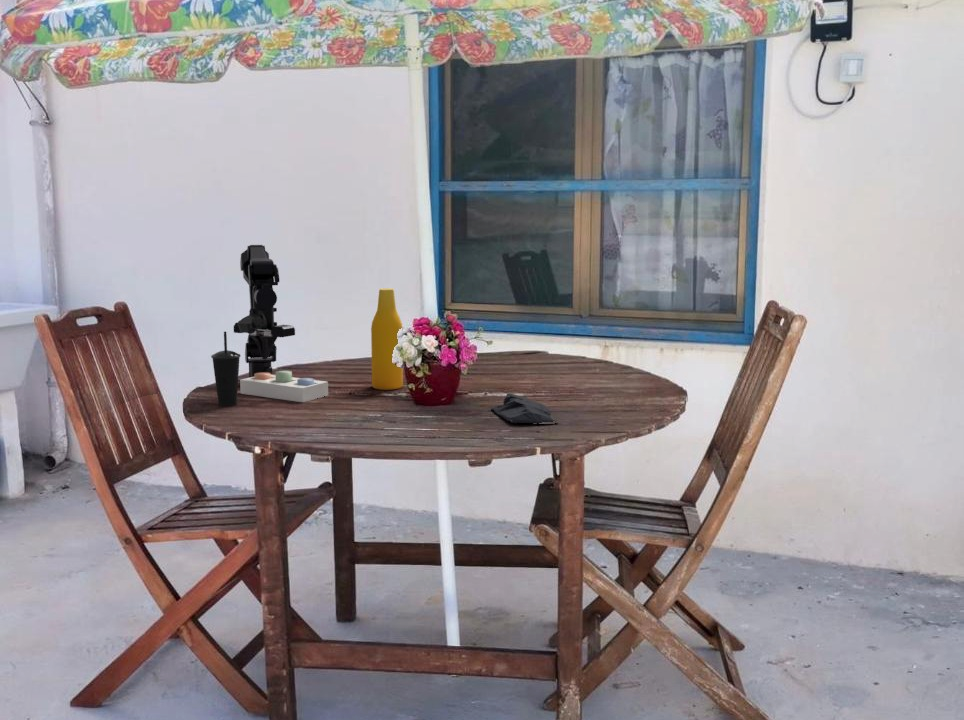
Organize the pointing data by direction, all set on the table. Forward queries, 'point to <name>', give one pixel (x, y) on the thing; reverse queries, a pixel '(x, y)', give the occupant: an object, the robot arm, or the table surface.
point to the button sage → (283, 376)
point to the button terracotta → (262, 376)
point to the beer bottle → (385, 343)
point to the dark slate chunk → (522, 410)
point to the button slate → (305, 381)
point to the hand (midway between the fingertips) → (264, 359)
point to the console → (283, 389)
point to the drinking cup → (226, 375)
